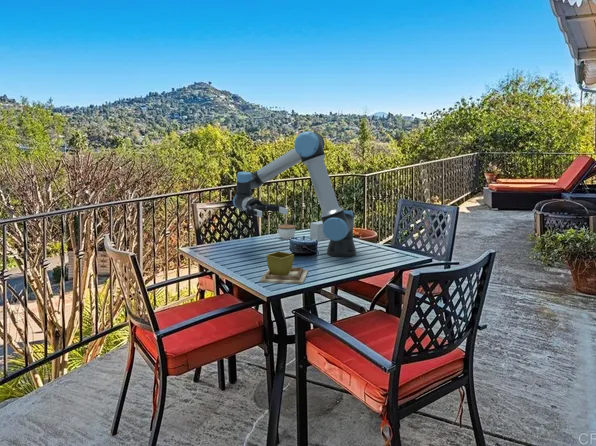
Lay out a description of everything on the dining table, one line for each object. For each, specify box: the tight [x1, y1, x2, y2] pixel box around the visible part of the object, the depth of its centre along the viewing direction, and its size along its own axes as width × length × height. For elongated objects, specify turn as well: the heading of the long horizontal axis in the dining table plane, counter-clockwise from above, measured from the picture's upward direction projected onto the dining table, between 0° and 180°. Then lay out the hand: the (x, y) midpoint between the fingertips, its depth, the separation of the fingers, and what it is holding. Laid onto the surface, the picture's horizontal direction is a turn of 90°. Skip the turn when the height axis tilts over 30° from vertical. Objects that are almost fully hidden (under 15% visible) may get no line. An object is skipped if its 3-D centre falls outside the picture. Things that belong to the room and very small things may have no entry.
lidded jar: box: [277, 222, 296, 241], centre depth 272 cm, size 11×11×9 cm
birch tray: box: [259, 266, 309, 285], centre depth 192 cm, size 18×18×2 cm
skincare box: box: [309, 220, 329, 242], centre depth 269 cm, size 10×6×10 cm, turn 137°
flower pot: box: [266, 251, 295, 276], centre depth 191 cm, size 9×9×9 cm
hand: (274, 213), depth 204 cm, fingers open, 13 cm apart
